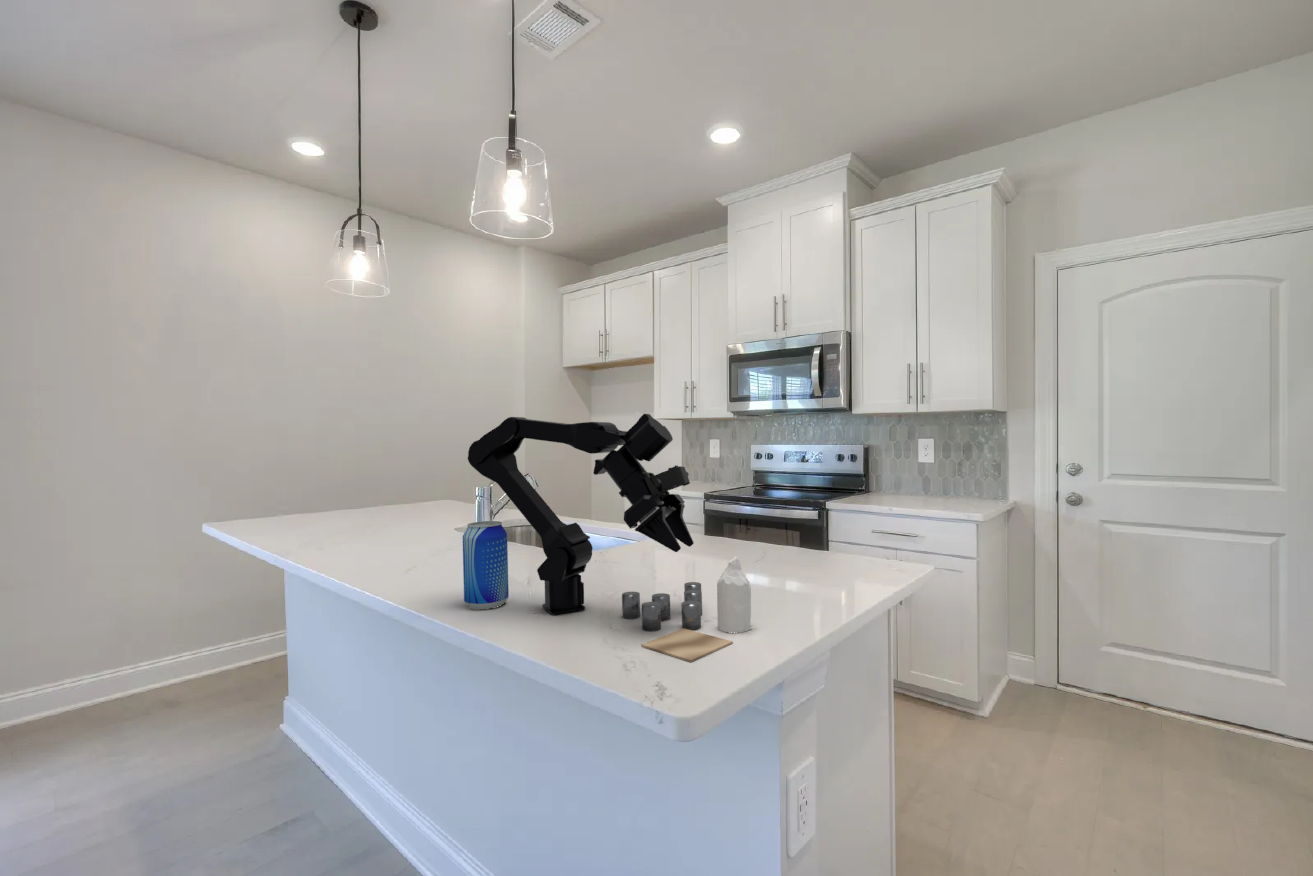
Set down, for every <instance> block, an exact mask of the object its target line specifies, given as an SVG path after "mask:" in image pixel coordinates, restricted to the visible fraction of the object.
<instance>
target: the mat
mask: <svg viewBox="0 0 1313 876" xmlns="http://www.w3.org/2000/svg"><path fill="white" fill-rule="evenodd" d="M733 643H734V641H733V640H729V639H726V638H725V639H724V638H721V637H717V636H713V635H711V634H707V633H702V632H700V631H696V630H688V629H684V628H681V629H678V630H675V631H673V632H670V633H668V634H665V635H663V636H660V637H657V638H655V639H652V640H649V641H647V642H645V643H641V644H640V645H641V647H642V648H644V649H648V650H650V651H653V652H654V651H655V652H657V653H662V654H664V655H667V656H670V657H673V658H676V659H679V660H682V661H686V662H689V663H693V662H695V661H698V660H699V659H702V658H704V657H706V656H708V655H710V654H713V653H715V652H717V651H719V650H721V649H724V648H726V647H728V646H731V645H733Z"/></svg>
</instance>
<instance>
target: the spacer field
mask: <svg viewBox="0 0 1313 876" xmlns="http://www.w3.org/2000/svg"><path fill="white" fill-rule="evenodd" d="M683 587H684V588H683V589H684V591H683V600H684V601H682V602H681V603H680V604H681V629H683V628H684V629H688V630H692V631H696V630H700V629H701V628H702V616H703V596H702V595H703V594H702V593H703V592H702V583H700V582H699V581H697V582H696V581H690V582H685V583H684V585H683ZM640 595H641V594H640V592H638V591H625V592H622V594H621V605H622V606H621V608H622V609H621V611H622V612H621V613H622V618H623V619H627V620H633V619H634V620H635V619H638V618H640V617H641V630H643V632H644V631H645V632H657V631H660V630H661V629H662V622H665V621H669V620H671V594H669V593H664V592H663V593H662V592H661V593H660V592H659V593H653V594H652V595H651V601H647V602H643V603H641V596H640Z"/></svg>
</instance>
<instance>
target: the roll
mask: <svg viewBox="0 0 1313 876" xmlns="http://www.w3.org/2000/svg"><path fill="white" fill-rule="evenodd" d="M741 566H742V564H741V561H740V558H739V557H738V556H734V557H733V558H732V559H730V560H729V562H728V563H727V566H726V567H725V568H724V570H723V572H722V573H721V575H720V576H719V578H718V579H717V583H716V596H717V597H716V598H717V599H716V601H717V602H716V603H717V605H716V606H717V628H718V630H719V631H721V632H724V633H727V632H730V633H729V634H737V633H736V632H740V633H744V631H745V632H747V631H749V630H750V629H751V622H752V621H751V620H752V619H751V617H752V613H751V612H752V606H751V605H752V601H751V600H752V588H751V584H750V581H749V580H748V578H747V576H746V574H745V573H744V571H743V570H742V567H741ZM731 632H732V633H731ZM734 632H735V633H734Z"/></svg>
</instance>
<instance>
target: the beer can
mask: <svg viewBox="0 0 1313 876" xmlns="http://www.w3.org/2000/svg"><path fill="white" fill-rule="evenodd" d="M466 525H467V528H466V530H465V531H464V533H463V535H462V565H463V566H462V567H463V569H462V570H463V573H462V574H463V601H464V603H465V604H466V605H467V607H468V606H469V607H470V608H474V609H473V610H475V609H486V610H490V609H489V608H493V609H495V608H494V607H497V606H500V605H502V604H504V603H505V604H506V602H507V600H508V599H509V559H508V558H509V557H508V555H509V553H508V552H509V551H508V532H507V531H506V529H505V528H504V526H503V522H502V521H499V520H498V521H497V520H486V521H485V520H484V521H476V522H470V523H467V524H466ZM505 604H504V605H505ZM469 607H468V608H469ZM500 607H501V606H500ZM470 608H469V609H470ZM497 608H498V607H497Z"/></svg>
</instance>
